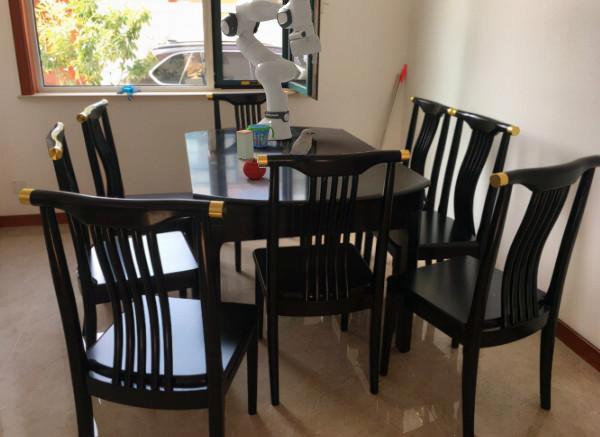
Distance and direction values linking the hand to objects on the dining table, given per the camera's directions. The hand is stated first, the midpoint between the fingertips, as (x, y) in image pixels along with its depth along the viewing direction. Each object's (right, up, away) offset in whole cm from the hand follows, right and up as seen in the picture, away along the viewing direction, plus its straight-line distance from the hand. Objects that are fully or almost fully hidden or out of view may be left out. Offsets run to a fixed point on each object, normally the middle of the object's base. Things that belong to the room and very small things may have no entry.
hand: (309, 65), depth 235 cm
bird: (-4, -48, -20) cm, 52 cm away
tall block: (-28, -44, -8) cm, 53 cm away
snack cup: (-24, -36, +15) cm, 45 cm away
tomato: (-21, -56, -40) cm, 72 cm away
